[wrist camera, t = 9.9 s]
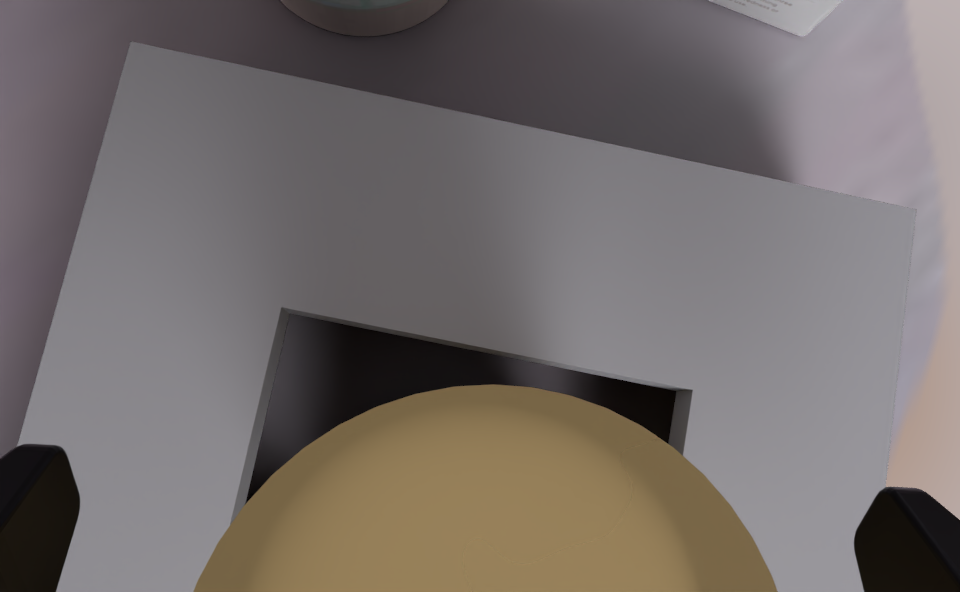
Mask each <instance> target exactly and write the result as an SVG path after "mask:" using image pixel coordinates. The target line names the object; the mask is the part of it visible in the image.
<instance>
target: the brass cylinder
mask: <svg viewBox="0 0 960 592" xmlns="http://www.w3.org/2000/svg"><path fill="white" fill-rule="evenodd" d="M193 592H778V591H777V588H776V586H775V583H774V580H773V577H772V575H771V573H770V571H769V569H768V567H767V565H766V563H765V561H764V559H763V557H762V555H761V553H760V551H759V549H758V547H757V545H756V543H755V541H754V539H753V538H752V536H751V535H750V533H749V532H748V530H747V529H746V527H745V526H744V524H743V523H742V521H741V520H740V518H739V517H738V515H737V514H736V512H735V511H734V509H733V508H732V506H731V505H730V504H729V503H728V501H727V500H726V499H725V498H724V497H723V496H722V495H721V493H720V492H719V491H718V490H717V489H716V488H715V487H714V485H713V484H712V483H711V482H710V481H709V480H708V479H707V477H706V476H705V475H704V474H703V473H702V472H701V471H699V470H698V469H697V468H696V467H695V466H694V465H693V464H692V463H690V462H689V461H688V460H687V459H686V458H685V457H684V456H683V455H681V454H680V453H679V452H678V451H677V450H676V449H675V448H673V447H672V446H670V445H669V444H668V443H666V442H665V441H663V440H662V439H660V438H659V437H657V436H656V435H654V434H653V433H651V432H650V431H648V430H647V429H646V428H644V427H643V426H641V425H639V424H637V423H635V422H633V421H631V420H629V419H627V418H625V417H623V416H621V415H619V414H617V413H615V412H613V411H611V410H609V409H607V408H605V407H602V406H599V405H596V404H593V403H591V402H588V401H585V400H582V399H579V398H576V397H573V396H571V395H566V394H562V393H557V392H552V391H547V390H542V389H538V388H533V387H522V386H508V385H494V384H490V385H473V386H456V387H449V388H444V389H439V390H433V391H428V392H423V393H418V394H413V395H410V396H407V397H404V398H401V399H398V400H395V401H392V402H389V403H386V404H383V405H380V406H377V407H375V408H373V409H371V410H368V411H366V412H364V413H362V414H360V415H358V416H356V417H354V418H352V419H350V420H348V421H346V422H344V423H342V424H340V425H338V426H336V427H335V428H333V429H332V430H330V431H329V432H327V433H326V434H324V435H323V436H321V437H320V438H318V439H316V440H315V441H313V442H312V443H310V444H309V445H307V446H306V447H304V448H303V449H302V450H301V451H300V452H298V453H297V454H296V455H295V456H294V457H293V458H291V459H290V460H289V461H288V462H287V463H286V464H284V465H283V466H282V467H281V468H280V469H278V470H277V471H276V472H275V473H274V474H273V475H272V476H271V477H270V478H269V479H268V480H267V481H266V482H265V483H264V484H263V486H262V487H261V488H260V489H259V490H258V491H257V492H256V493H255V494H254V495H253V496H252V498H251V499H250V500H249V501H248V502H247V503H246V504H245V505H244V506H243V508H242V509H241V511H240V512H239V513H238V515H237V516H236V518H235V519H234V521H233V522H232V523H231V525H230V526H229V528H228V529H227V530H226V532H225V533H224V535H223V536H222V537H221V539H220V540H219V542H218V544H217V545H216V547H215V549H214V551H213V553H212V555H211V557H210V559H209V560H208V562H207V564H206V566H205V568H204V570H203V572H202V573H201V575H200V577H199V579H198V581H197V584H196V586H195V589H194V591H193Z"/></svg>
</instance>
